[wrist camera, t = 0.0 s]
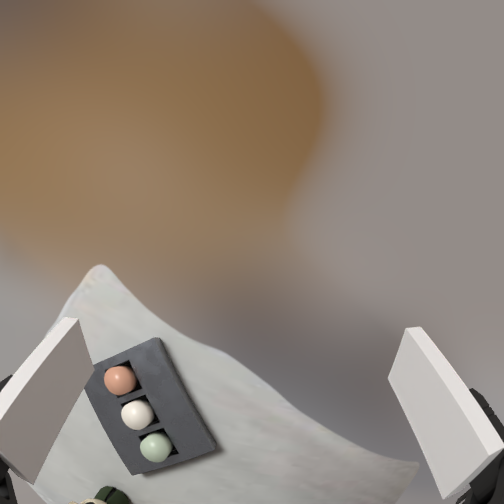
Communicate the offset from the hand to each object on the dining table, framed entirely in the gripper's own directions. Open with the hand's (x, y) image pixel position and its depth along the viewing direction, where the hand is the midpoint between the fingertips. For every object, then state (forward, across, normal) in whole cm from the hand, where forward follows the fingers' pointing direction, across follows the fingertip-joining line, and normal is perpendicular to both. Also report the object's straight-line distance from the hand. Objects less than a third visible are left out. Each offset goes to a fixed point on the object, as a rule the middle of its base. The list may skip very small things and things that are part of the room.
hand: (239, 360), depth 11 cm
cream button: (+20, +16, +30) cm, 40 cm away
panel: (+22, +16, +31) cm, 41 cm away
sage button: (+17, +13, +34) cm, 41 cm away
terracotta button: (+23, +19, +26) cm, 40 cm away
